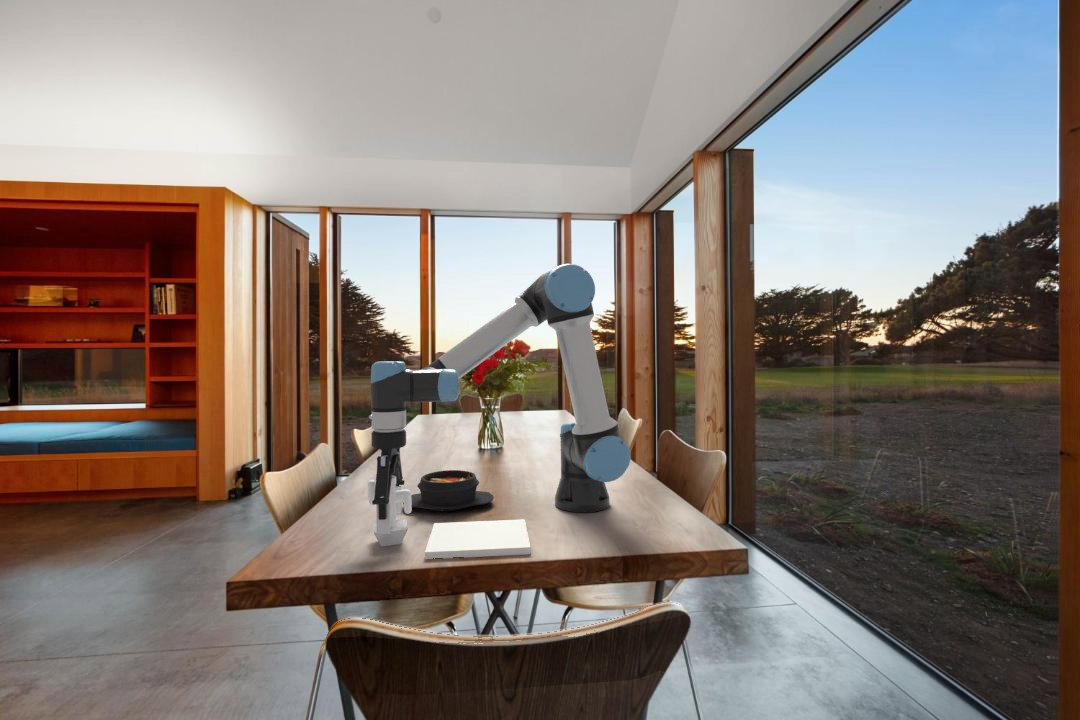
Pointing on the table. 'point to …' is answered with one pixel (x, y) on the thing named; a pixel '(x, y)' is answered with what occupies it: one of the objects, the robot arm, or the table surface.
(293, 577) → the table surface
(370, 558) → the table surface
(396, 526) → the figurine
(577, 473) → the robot arm
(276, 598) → the table surface
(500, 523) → the board
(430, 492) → the casserole
